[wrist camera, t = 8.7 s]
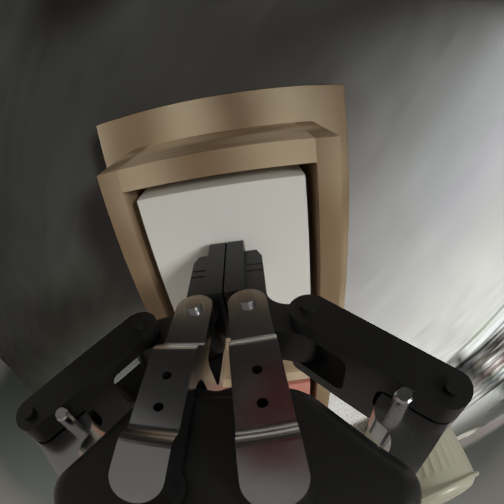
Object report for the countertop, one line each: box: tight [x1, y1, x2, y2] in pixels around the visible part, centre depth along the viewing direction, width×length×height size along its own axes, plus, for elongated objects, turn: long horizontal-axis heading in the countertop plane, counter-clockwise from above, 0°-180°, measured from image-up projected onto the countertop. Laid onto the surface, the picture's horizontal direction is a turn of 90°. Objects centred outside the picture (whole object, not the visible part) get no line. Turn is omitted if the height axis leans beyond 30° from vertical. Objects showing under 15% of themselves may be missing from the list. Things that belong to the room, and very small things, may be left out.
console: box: [96, 84, 349, 408], centre depth 20 cm, size 14×28×7 cm, turn 7°
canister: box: [364, 426, 479, 504], centre depth 30 cm, size 18×18×21 cm
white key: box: [137, 164, 310, 312], centre depth 15 cm, size 7×7×3 cm
